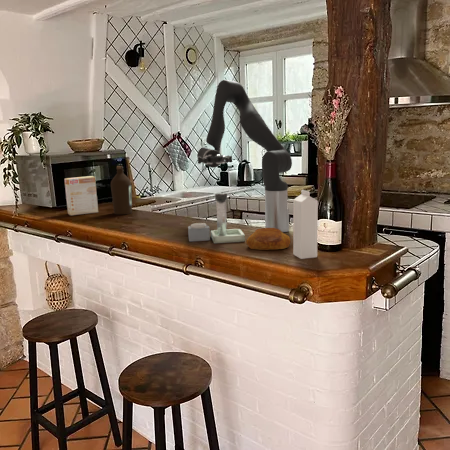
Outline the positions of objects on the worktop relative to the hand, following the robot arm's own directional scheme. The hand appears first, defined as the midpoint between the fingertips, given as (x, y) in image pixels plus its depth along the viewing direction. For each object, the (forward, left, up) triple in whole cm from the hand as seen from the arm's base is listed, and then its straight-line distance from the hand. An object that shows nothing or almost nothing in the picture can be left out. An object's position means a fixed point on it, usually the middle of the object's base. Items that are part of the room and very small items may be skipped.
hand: (216, 160), depth 188 cm
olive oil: (+44, -62, -30) cm, 82 cm away
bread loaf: (-15, +26, -30) cm, 43 cm away
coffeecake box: (+66, -69, -30) cm, 100 cm away
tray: (-2, +11, -30) cm, 32 cm away
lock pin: (0, +11, -29) cm, 31 cm away
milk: (-24, +42, -30) cm, 57 cm away
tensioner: (+9, +5, -30) cm, 32 cm away
